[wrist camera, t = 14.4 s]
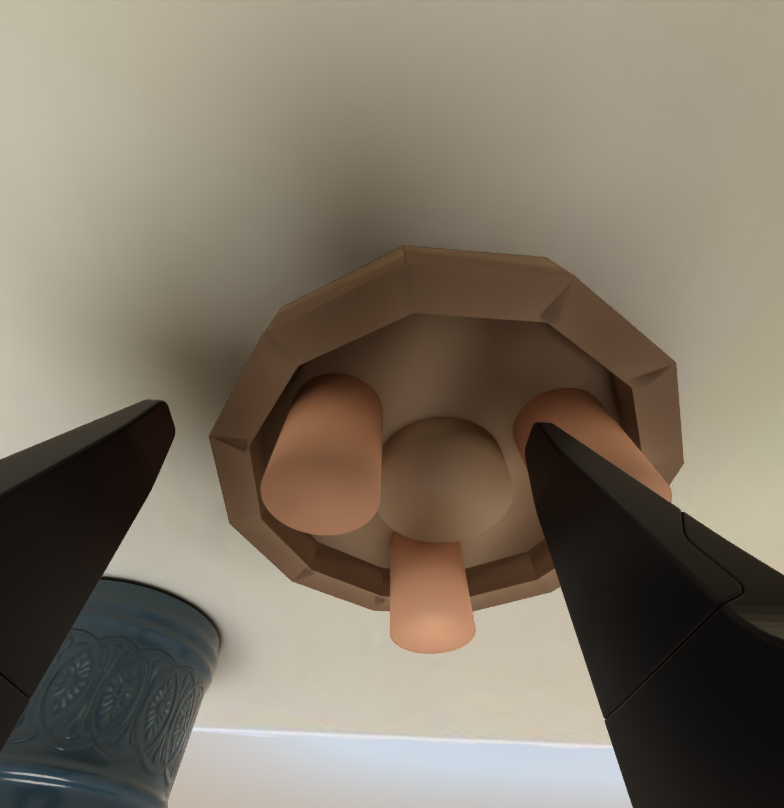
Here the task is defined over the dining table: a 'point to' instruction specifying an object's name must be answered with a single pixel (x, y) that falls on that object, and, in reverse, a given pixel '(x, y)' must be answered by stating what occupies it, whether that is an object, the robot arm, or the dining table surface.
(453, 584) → the bead
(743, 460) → the dining table surface
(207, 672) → the canister
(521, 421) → the bead
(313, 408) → the bead
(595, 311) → the groove tray
